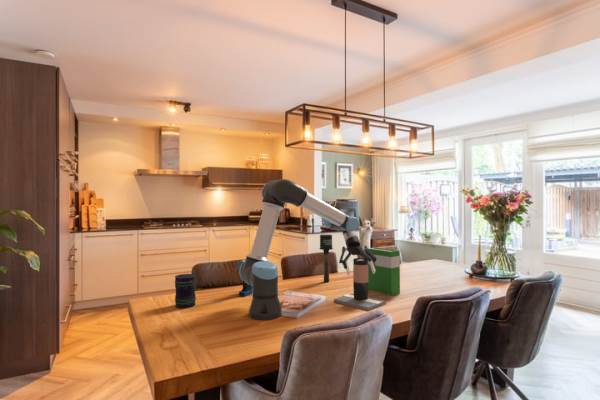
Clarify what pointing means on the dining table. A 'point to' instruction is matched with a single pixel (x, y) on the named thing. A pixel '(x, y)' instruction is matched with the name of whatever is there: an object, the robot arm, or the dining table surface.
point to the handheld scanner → (246, 288)
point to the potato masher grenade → (326, 252)
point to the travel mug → (360, 278)
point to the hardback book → (385, 272)
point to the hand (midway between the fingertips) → (361, 273)
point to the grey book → (360, 302)
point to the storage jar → (185, 291)
